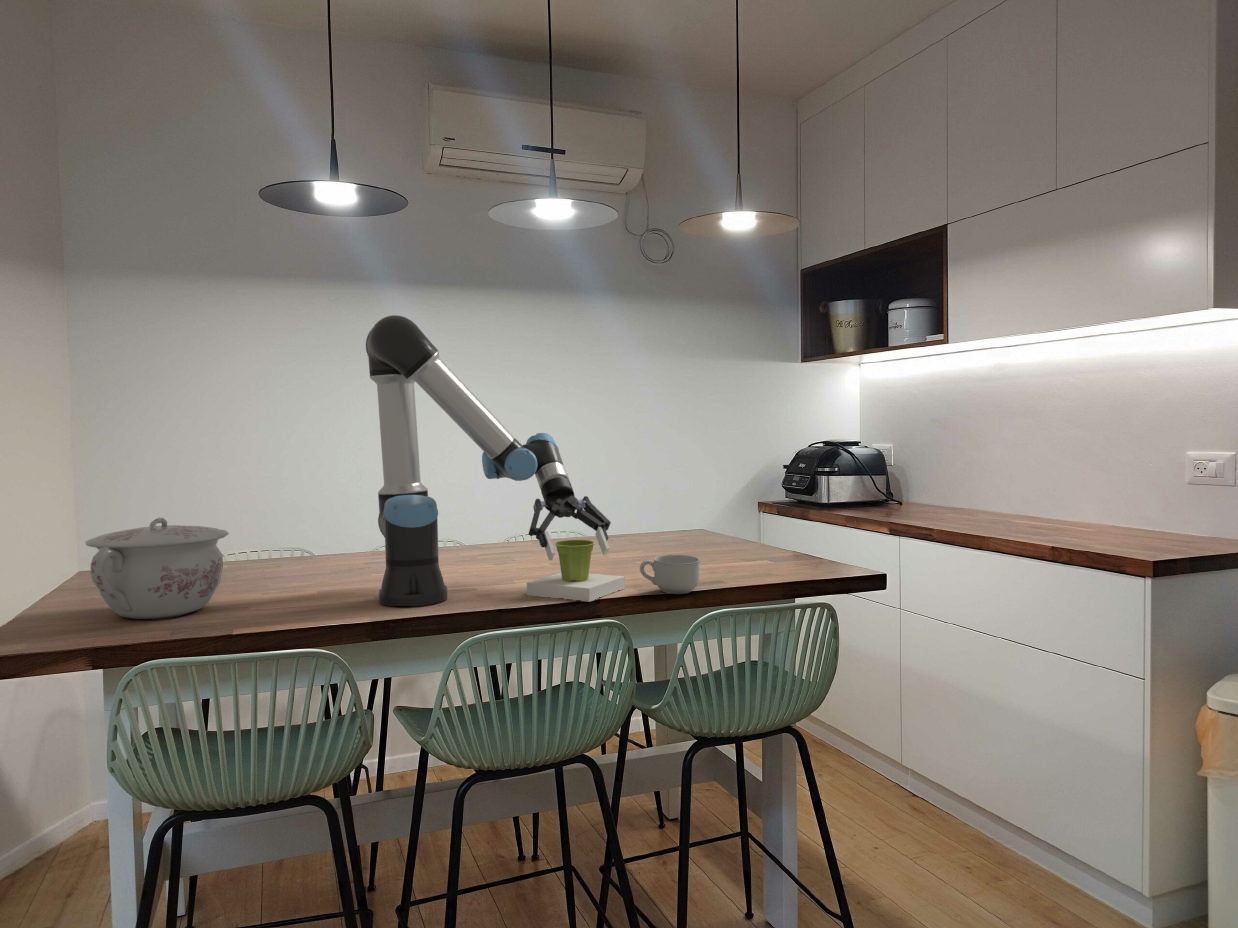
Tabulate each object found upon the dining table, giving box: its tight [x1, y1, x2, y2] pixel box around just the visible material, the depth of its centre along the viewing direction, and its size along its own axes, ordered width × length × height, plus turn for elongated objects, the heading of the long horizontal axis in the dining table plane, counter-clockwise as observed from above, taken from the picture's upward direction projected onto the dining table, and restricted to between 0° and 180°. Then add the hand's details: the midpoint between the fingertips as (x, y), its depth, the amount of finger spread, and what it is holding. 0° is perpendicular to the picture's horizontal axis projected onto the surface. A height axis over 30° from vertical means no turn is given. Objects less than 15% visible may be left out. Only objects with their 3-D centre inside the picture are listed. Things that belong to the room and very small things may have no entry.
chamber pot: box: [84, 517, 230, 620], centre depth 187 cm, size 28×27×21 cm
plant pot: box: [554, 539, 596, 581], centre depth 203 cm, size 9×9×9 cm
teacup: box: [639, 553, 701, 595], centre depth 202 cm, size 14×11×8 cm
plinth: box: [526, 572, 626, 603], centre depth 203 cm, size 17×16×3 cm
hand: (579, 554), depth 200 cm, fingers open, 13 cm apart
